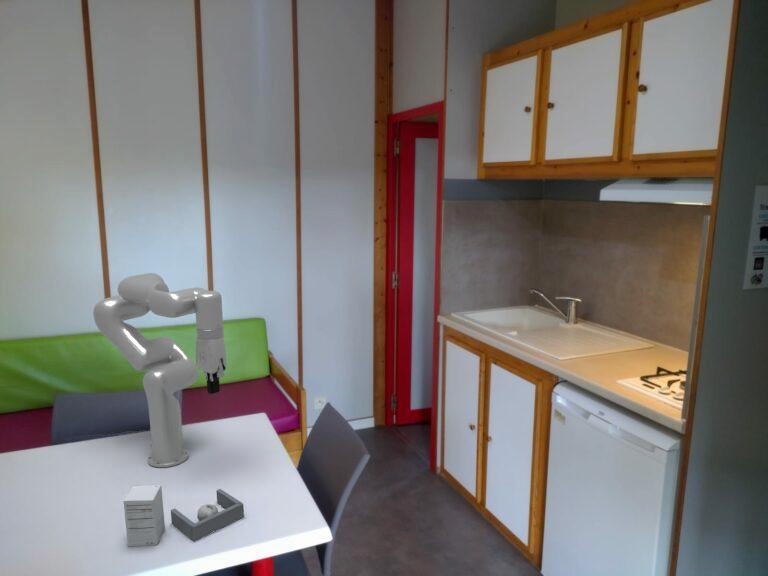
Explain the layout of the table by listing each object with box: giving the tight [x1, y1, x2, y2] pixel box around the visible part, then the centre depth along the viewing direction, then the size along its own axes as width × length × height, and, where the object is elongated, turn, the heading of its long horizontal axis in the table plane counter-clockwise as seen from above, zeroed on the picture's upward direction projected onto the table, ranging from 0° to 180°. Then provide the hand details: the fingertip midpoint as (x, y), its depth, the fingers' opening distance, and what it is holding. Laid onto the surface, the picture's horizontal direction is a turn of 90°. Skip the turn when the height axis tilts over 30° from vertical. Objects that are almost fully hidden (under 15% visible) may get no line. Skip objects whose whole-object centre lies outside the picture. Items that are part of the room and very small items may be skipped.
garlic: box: [196, 503, 219, 522], centre depth 154 cm, size 6×5×5 cm
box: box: [170, 488, 245, 542], centre depth 155 cm, size 11×15×4 cm
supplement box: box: [123, 484, 166, 547], centre depth 147 cm, size 7×7×13 cm
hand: (213, 392), depth 174 cm, fingers closed
